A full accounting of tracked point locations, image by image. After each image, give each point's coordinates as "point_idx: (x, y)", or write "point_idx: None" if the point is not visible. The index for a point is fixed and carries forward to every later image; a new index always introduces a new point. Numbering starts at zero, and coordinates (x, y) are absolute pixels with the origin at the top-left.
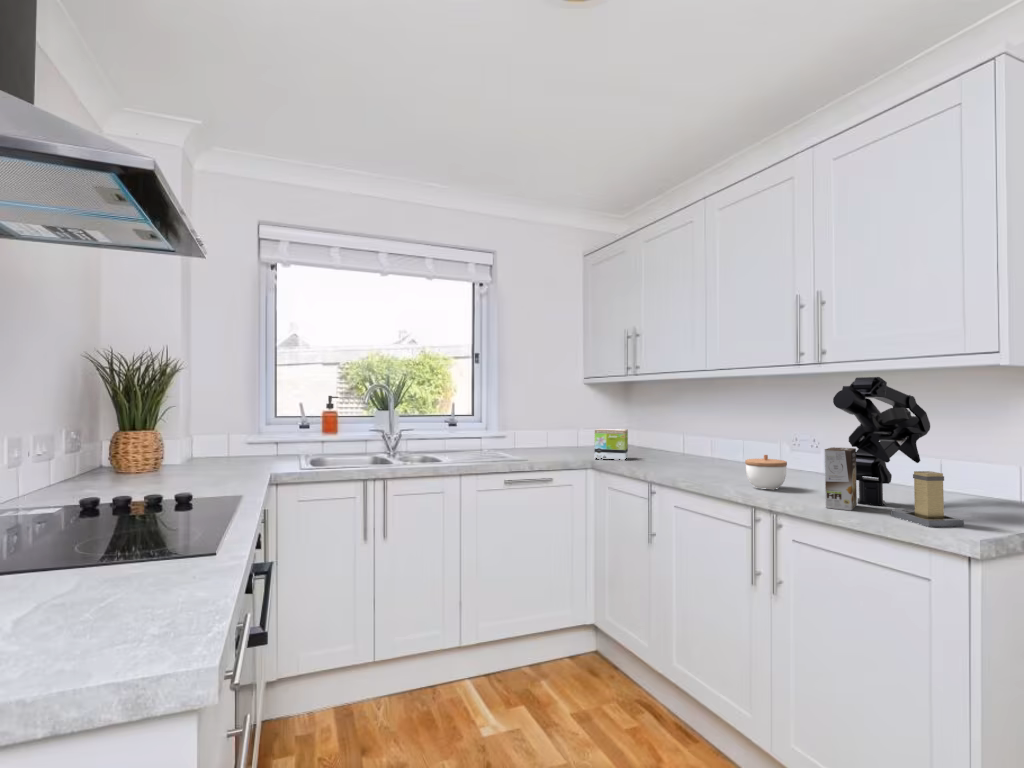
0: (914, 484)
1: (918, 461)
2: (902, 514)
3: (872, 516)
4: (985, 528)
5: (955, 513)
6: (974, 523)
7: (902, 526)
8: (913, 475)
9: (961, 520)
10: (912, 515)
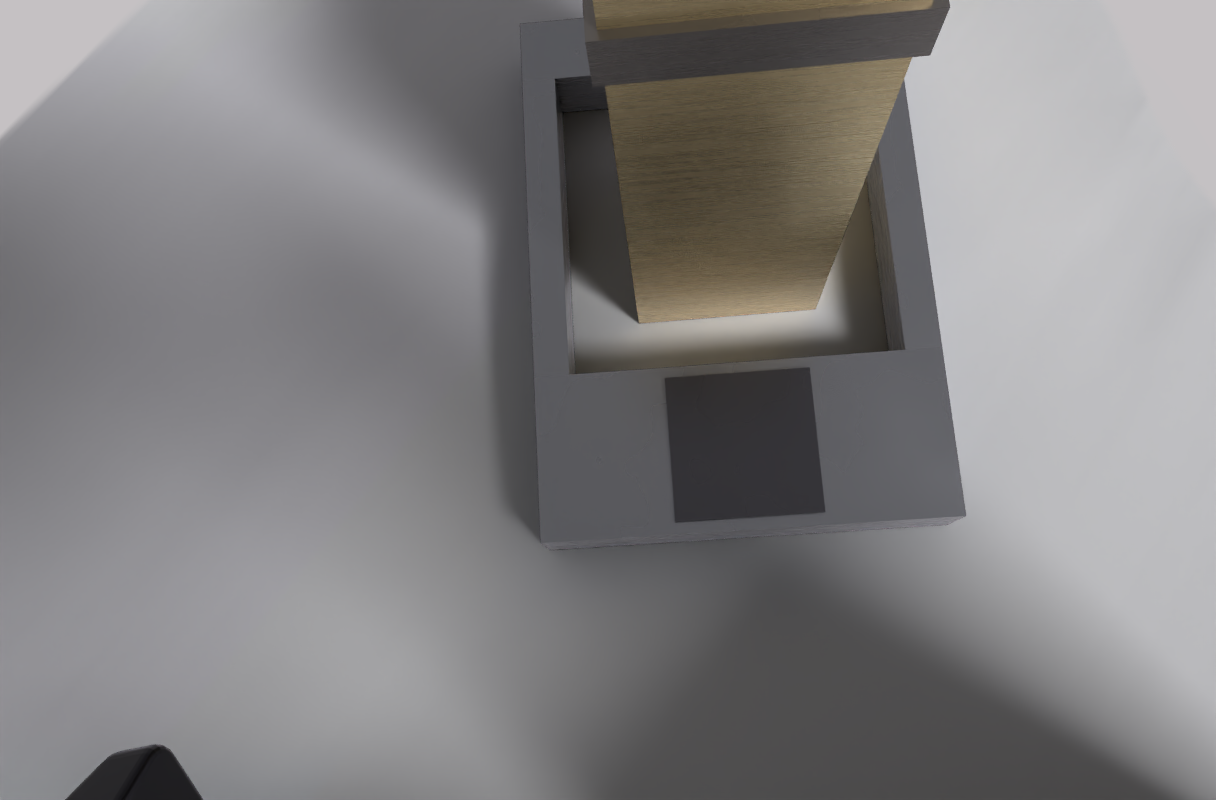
0: (893, 99)
1: (179, 767)
2: (936, 334)
3: (1180, 516)
4: (394, 2)
5: (93, 659)
6: (320, 185)
7: (1115, 58)
8: (944, 7)
9: (544, 23)
10: (898, 218)
